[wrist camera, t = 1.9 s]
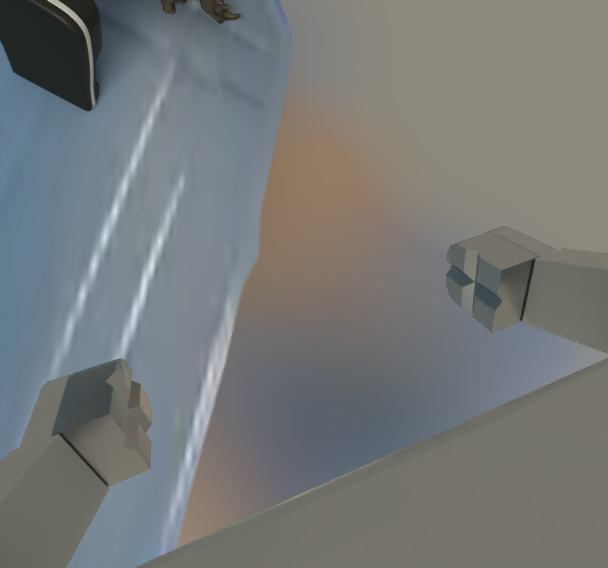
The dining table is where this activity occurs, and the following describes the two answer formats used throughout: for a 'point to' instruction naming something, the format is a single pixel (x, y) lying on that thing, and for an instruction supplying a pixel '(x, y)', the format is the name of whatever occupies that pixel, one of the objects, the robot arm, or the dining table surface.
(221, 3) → the rhino figurine
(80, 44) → the battery charger
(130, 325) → the dining table surface
